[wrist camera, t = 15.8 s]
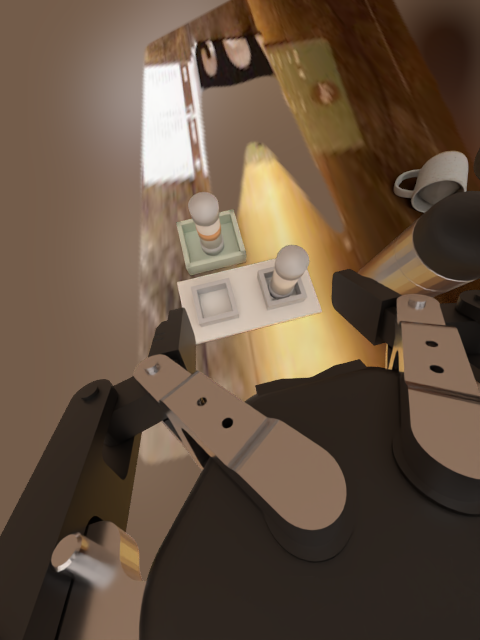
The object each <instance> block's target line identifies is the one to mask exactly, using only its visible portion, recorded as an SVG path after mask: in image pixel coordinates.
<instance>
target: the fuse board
mask: <svg viewBox="0 0 480 640" xmlns="http://www.w3.org/2000/svg"><path fill="white" fill-rule="evenodd" d="M275 261H276V258H275V259H271V260H267V261H263V262H259V263H255V264H251V265H247V266H242V267H238V268H234V269H230V270H226V271H222V272H218V273H214V274H209V275H205V276H201V277H197V278H193V279H189V280H185V281H181V282H177V284H178V289H179V294H180V299H181V303H182V308H183V307H184V308H185V309H186V312H187V315H188V317H189V320H190V323H191V326H192V329H193V332H194V335H195V340H196V344H200V343H204V342H208V341H212V340H216V339H220V338H224V337H228V336H232V335H236V334H239V333H243V332H247V331H251V330H255V329H259V328H263V327H267V326H271V325H275V324H279V323H282V322H286V321H290V320H294V319H298V318H302V317H306V316H310V315H314V314H318V313H321V312H322V310H321V307H320V304H319V301H318V298H317V295H316V293H315V290H314V287H313V284H312V281H311V278H310V276H309V273H308V270H307V269H306V270H305V272H304V274H303V275H302V276H301V277H300V278H299V279H298V281H297V283H296V284H295V286H294V290H293V292H292V293H291V295H290V296H289V297H286V298H282V299H278V300H276V299H274V298H273V297H271V296H270V293H269V290H268V285H269V282H270V279H271V278H272V276H273V272H274V269H275Z"/></svg>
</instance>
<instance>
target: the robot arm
mask: <svg viewBox="0 0 480 640" xmlns="http://www.w3.org/2000/svg"><path fill="white" fill-rule="evenodd" d="M474 172H475V174H476V176H477V177H478V178H479V180H480V149H479V151H478V153H477V155H476V157H475V161H474ZM479 278H480V192H479V191H467V192H460V193H456V194H452V195H450V196H447V197H445V198H444V199H442V200H440V201H439V202H437V203H436V204H435V205H433V206H432V207H431V208H430V209H429V210H428V211H426V212H425V213H424V214H423V215H422V216H421V217H420V218H418V219H417V220H416V221H415V222H414V223H413V224H412V225H410V226H409V227H408V228H407V229H406V230H405V231H404V232H403V233H401V234H400V235H399V236H398V237H397V238H396V239H395V240H394V241H392V242H391V243H390V244H389V245H388V246H387V247H386V248H384V249H383V250H382V251H381V252H380V253H379V254H378V255H376V256H375V257H374V258H373V259H372V260H371V261H370V262H368V263H367V264H366V265H365V266H364V267H363V268H361V269H360V270H359V271H358V272H357V273H356V272H355V271H353V270H351V269H347V270H343V271H338V272H335V273H334V274H333V281H332V304H333V307H334V309H335V310H336V311H337V312H338V313H339V314H341V315H342V316H343V317H344V318H345V319H346V320H347V321H348V322H349V323H350V324H351V325H352V326H354V327H355V328H356V329H357V330H358V331H359V332H360V333H361V334H362V335H363V336H364V337H365V338H367V339H368V340H369V341H370V342H371V343H372V344H373V345H378V344H382V343H387V347H386V365H385V368H381V367H366V366H365V365H364V364H363V362H362V361H361V360H360V359H359V360H355V361H351V362H347V363H343V364H339V365H335V366H333V367H331V368H329V369H327V370H325V371H323V372H321V373H319V374H317V375H315V376H313V377H310V378H293V379H279V380H275V381H271V382H267V383H263V384H259V385H255V387H256V392H257V394H256V395H254V396H252V397H251V398H249V399H248V400H246V401H245V402H244V401H242V400H241V399H239V398H238V397H236V396H235V395H233V394H232V393H231V392H229V391H228V390H226V389H225V388H223V387H222V386H220V385H219V384H217V383H216V382H215V381H213V380H212V379H210V378H209V377H207V376H206V375H204V374H203V373H201V372H200V371H196V340H195V335H194V332H193V329H192V326H191V323H190V320H189V317H188V315H187V312H186V309H185V308H184V307H183V308H179V309H175V310H170V311H169V316H168V320H167V321H164V322H162V323H161V324H160V325H159V326H158V327H157V328H156V331H155V336H154V338H153V342H152V345H151V349H150V352H149V356H148V358H146V359H144V360H143V361H141V362H140V363H139V364H138V365H137V366H136V368H135V370H134V373H133V375H134V376H133V377H131V378H129V379H127V380H125V381H123V382H121V383H119V384H117V385H114V386H113V385H112V384H111V383H110V381H109V380H106V379H102V380H96V381H93V382H91V383H89V384H87V385H86V386H84V387H83V388H81V389H80V390H79V391H78V392H77V393H76V394H75V395H74V396H73V398H72V399H71V401H70V403H69V405H68V407H67V408H66V410H65V413H64V414H63V416H62V418H61V420H60V422H59V424H58V426H57V428H56V430H55V432H54V434H53V436H52V437H51V439H50V441H49V443H48V445H47V447H46V450H45V451H44V453H43V455H42V457H41V459H40V461H39V463H38V465H37V466H36V469H35V470H34V473H33V474H32V476H31V478H30V480H29V482H28V484H27V486H26V488H25V490H24V492H23V493H22V495H21V498H20V499H19V501H18V503H17V505H16V507H15V509H14V511H13V513H12V515H11V517H10V519H9V521H8V522H7V525H6V526H5V528H4V530H3V532H2V534H1V536H0V640H480V392H479V389H478V386H477V384H476V381H478V382H479V383H480V290H469V291H464V292H462V293H461V294H460V296H459V298H458V301H457V303H447V304H439V302H438V301H437V300H436V299H434V298H432V297H434V296H437V295H439V294H442V293H444V292H447V291H449V290H452V289H454V288H456V287H459V286H461V285H464V284H466V283H469V282H471V281H474V280H476V279H479ZM475 380H476V381H475ZM159 422H162V423H163V424H164V425H165V426H166V427H167V429H168V430H169V431H170V432H171V433H172V434H173V435H174V436H175V438H176V439H177V440H178V441H179V442H180V443H181V444H182V446H183V447H184V448H185V449H186V450H187V452H188V453H189V454H190V456H191V457H192V459H193V460H194V461H195V462H196V464H197V465H198V466H199V468H200V469H201V470H202V472H201V474H200V476H199V478H198V479H197V481H196V483H195V485H194V487H193V489H192V490H191V492H190V494H189V496H188V498H187V500H186V501H185V503H184V505H183V507H182V508H181V510H180V512H179V514H178V516H177V517H176V519H175V521H174V523H173V525H172V527H171V529H170V530H169V532H168V534H167V536H166V537H165V539H164V541H163V543H162V545H161V547H160V548H159V550H158V552H157V554H156V557H155V559H154V561H153V564H152V566H151V569H150V572H149V575H148V578H147V580H146V581H143V580H142V578H141V574H140V569H139V549H138V545H137V543H136V541H135V540H134V539H133V538H132V537H131V536H130V535H128V534H126V527H127V521H128V515H129V508H130V502H131V496H132V490H133V483H134V477H135V471H136V465H137V459H138V453H139V447H140V440H141V434H142V432H143V431H144V430H146V429H148V428H150V427H152V426H153V425H155V424H157V423H159Z"/></svg>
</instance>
